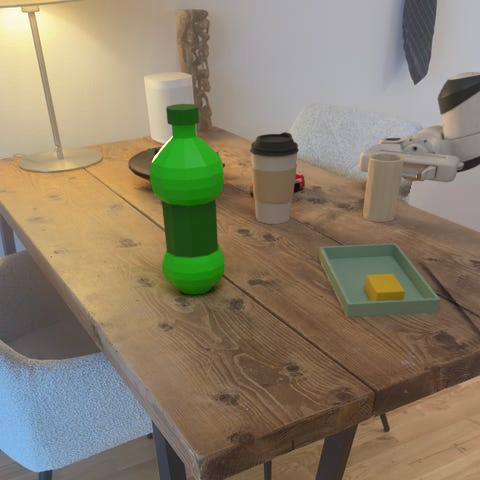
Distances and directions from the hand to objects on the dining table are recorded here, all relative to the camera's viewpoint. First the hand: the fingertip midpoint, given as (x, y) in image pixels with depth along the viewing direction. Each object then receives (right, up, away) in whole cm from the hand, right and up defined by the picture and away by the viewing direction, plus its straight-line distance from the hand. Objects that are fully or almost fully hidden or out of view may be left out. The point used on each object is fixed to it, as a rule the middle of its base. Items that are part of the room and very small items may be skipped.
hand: (396, 173), depth 113 cm
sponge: (-11, -32, -31) cm, 46 cm away
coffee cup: (-25, -9, -1) cm, 27 cm away
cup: (-4, -9, -1) cm, 10 cm away
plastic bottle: (-39, -29, -25) cm, 54 cm away
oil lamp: (-46, +6, +18) cm, 50 cm away
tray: (-11, -29, -26) cm, 41 cm away
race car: (-23, +1, +13) cm, 27 cm away
